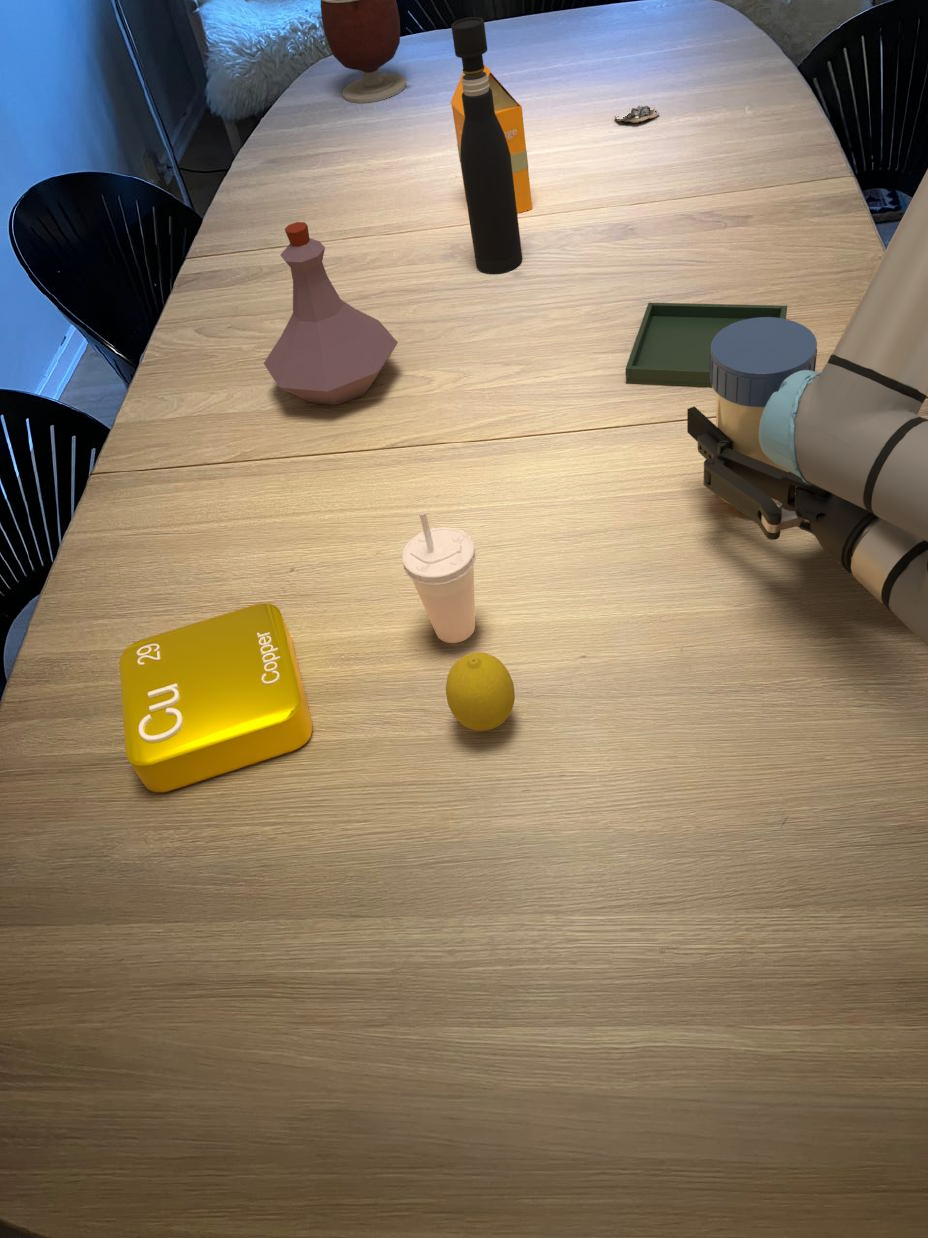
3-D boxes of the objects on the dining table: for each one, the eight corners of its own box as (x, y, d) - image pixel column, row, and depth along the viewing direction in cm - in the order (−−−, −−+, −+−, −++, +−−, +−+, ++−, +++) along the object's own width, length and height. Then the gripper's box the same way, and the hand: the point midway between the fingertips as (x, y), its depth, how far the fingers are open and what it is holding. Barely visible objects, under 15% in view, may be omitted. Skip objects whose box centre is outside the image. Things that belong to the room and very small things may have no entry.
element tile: (318, 745, 88) (303, 710, 84) (145, 801, 86) (123, 768, 83) (289, 627, 98) (275, 591, 95) (134, 675, 97) (114, 641, 93)
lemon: (444, 741, 86) (428, 680, 80) (468, 691, 89) (453, 629, 84) (507, 755, 84) (494, 693, 78) (528, 704, 87) (518, 640, 82)
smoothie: (423, 605, 97) (394, 490, 87) (490, 600, 96) (469, 483, 87) (418, 656, 93) (387, 541, 83) (489, 651, 92) (466, 534, 82)
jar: (798, 462, 101) (812, 327, 91) (791, 513, 97) (804, 377, 86) (720, 457, 104) (724, 325, 93) (709, 506, 99) (712, 373, 88)
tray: (786, 320, 121) (787, 305, 120) (773, 390, 112) (774, 374, 111) (648, 316, 126) (648, 302, 125) (626, 383, 117) (625, 368, 116)
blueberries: (607, 124, 168) (607, 112, 167) (631, 105, 173) (630, 93, 171) (644, 128, 165) (644, 116, 164) (667, 108, 169) (667, 96, 168)
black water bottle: (531, 260, 141) (505, 18, 119) (493, 278, 139) (460, 35, 117) (504, 246, 145) (474, 9, 123) (467, 263, 143) (429, 26, 121)
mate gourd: (338, 84, 201) (312, -33, 187) (408, 70, 200) (387, -48, 186) (340, 113, 190) (312, -9, 176) (414, 98, 190) (392, -25, 175)
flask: (334, 439, 118) (287, 278, 104) (246, 397, 127) (192, 244, 113) (432, 369, 125) (401, 209, 111) (342, 333, 134) (303, 182, 120)
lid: (818, 351, 93) (821, 317, 91) (809, 410, 87) (813, 375, 85) (717, 347, 96) (717, 315, 93) (702, 404, 90) (703, 371, 88)
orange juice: (512, 187, 157) (496, 45, 143) (533, 208, 151) (518, 63, 137) (464, 201, 156) (443, 59, 142) (483, 223, 150) (463, 78, 136)
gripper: (773, 620, 84) (635, 472, 100) (981, 529, 88) (816, 400, 103) (779, 553, 79) (632, 408, 95) (1000, 459, 82) (823, 334, 98)
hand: (729, 404), depth 99 cm, fingers closed on jar, 8 cm apart
